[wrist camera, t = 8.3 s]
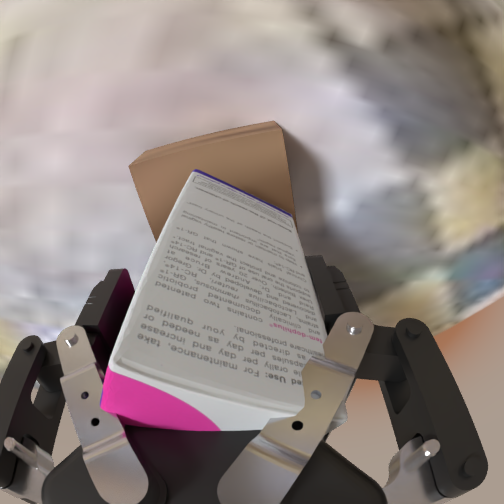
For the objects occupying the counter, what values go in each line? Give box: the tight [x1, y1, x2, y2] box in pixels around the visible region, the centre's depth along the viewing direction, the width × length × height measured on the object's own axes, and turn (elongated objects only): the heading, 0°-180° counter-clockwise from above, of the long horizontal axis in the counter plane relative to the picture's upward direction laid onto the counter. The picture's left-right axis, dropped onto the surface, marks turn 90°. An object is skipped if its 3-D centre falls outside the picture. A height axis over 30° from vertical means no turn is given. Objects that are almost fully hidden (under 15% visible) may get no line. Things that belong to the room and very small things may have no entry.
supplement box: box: [100, 169, 348, 435], centre depth 11 cm, size 6×6×12 cm
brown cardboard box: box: [129, 121, 298, 242], centre depth 20 cm, size 9×9×4 cm
